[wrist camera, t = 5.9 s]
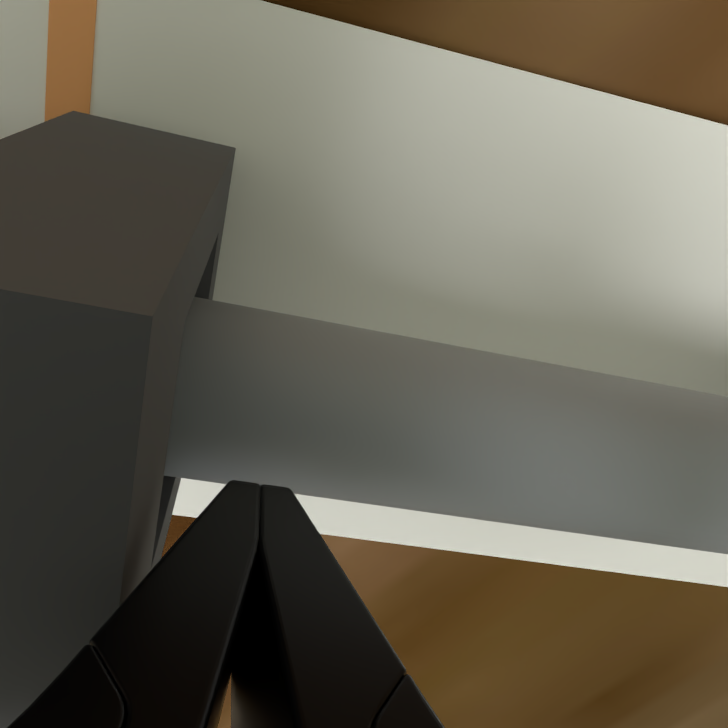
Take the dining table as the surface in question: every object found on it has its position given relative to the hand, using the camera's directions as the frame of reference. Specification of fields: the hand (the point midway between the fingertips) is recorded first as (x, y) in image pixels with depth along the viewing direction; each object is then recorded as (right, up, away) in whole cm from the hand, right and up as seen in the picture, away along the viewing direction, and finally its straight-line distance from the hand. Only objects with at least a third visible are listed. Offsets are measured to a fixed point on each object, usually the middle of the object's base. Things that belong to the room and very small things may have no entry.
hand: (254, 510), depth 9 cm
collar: (-3, +3, +5) cm, 7 cm away
